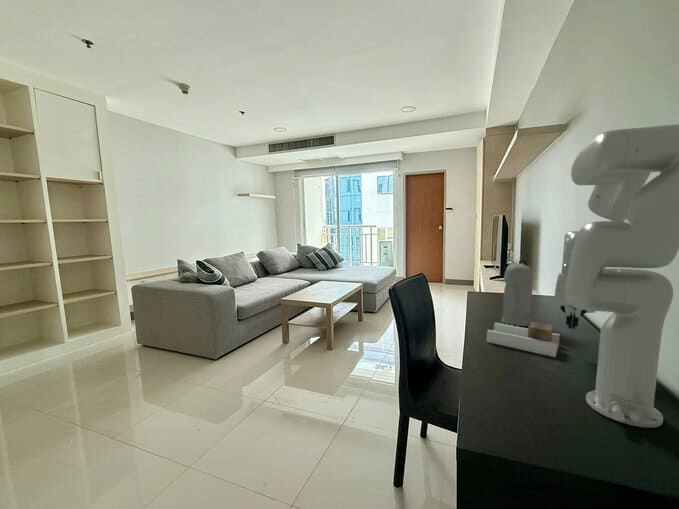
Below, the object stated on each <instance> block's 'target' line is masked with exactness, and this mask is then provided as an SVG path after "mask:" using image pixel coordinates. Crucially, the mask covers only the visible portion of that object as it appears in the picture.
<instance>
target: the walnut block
mask: <svg viewBox="0 0 679 509" xmlns="http://www.w3.org/2000/svg"><path fill="white" fill-rule="evenodd" d="M527 327H528V338H532V339H537V340H542V341H547V342H551V339H552V333H553V324H546V323H542V322H536V321H531V324H530V325H528V326H527Z"/></svg>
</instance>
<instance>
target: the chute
mask: <svg viewBox="0 0 679 509" xmlns="http://www.w3.org/2000/svg"><path fill="white" fill-rule="evenodd" d="M493 324H494V325H493V329H492V330H491V329H487V331H486V342H487V343H491V344H495V345H498V346H504V347H509V348H512V349H517V350H522V351H526V352H531V353H535V354H538V355H544V356H549V357H551V358H552V357H553V358H556V356H557V354H558V350H559V345H560V334H559V333H553V332H552V339H551V342H547V341H542V340H537V339H532V338H528V328H527V327H519V326H514V325H509V324H504V323H500V322H494V323H493Z"/></svg>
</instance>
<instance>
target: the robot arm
mask: <svg viewBox="0 0 679 509" xmlns="http://www.w3.org/2000/svg"><path fill="white" fill-rule="evenodd" d="M572 163H573V164H572V165H571V171H570V172H571V173H570V176H571V177H570V178H571V180H572V181H573V183H574V184H575V185H577V186H594V188H593V190H592V191H591V194H590V196H589V198H588V200H587V201H588V202H587V207H588V209H589V211H591V212H592V213H593V214H594V215H597V216H598V217H601V218H603V219H606V220H602V221H601V220H600V221H598V220H597V221H592V222H588V223H586V224H585V225H583V226H582V227H581V228H580V229H579V230H575V231H574V230H570V231H567V232H565V234H564V238H563V240H564V242H563V252H562V265H561V272H559V273H558V276H557V280H556V283H555V288H554V296H553V297H554V298H553V300H554V301H553V303H552V307H553V308H555V309H558V310H561V311H562V312H563V313H564V314H565V316H566V319H565V325H567V326H568V327H567V328H568V329H569V330H570V329H572V330H575V329H576V327H578V326H579V318H580V317H581V316H583V315H585V314H595V313H596V312H606V313H607V312H608V313H612V314H611V315H610V316H609V317H608V318H607V319H606V320H605V321H604V323H603V324H602V326H601V329H600V333H599V343H598V355H597V365H596V366H597V367H596V379H595V389H594V390H591V391H588V392H587V393H586V394H585V400H586V403H587V405H589V406H590V407H591V408H592V410H594V411H596V413H597V412H598V413H599V414H600V415H602V416H605V417H606V418H609V419H611V420H614V421H617V422H619V423H622V424H626V425H629V426H633V427H638V428H645V429H646V428H650V429H653V428H658V427H661V426H662V425H663V422H664V416H663V414H662V413H661V412H660V411H659V410H658V409H657V408H655V407H654V406H655V398H656V397H655V395H656V388H657V387H656V386H657V377H658V369H659V368H658V367H659V359H660V358H659V357H660V351H661V350H660V349H661V341H662V335H663V329H664V324H665V321H666V318H667V315H668V311H669V310H670V307H671V304H672V301H673V299H674V298H673V297H674V287H673V284H672V283H671V281H670V280H669V279H668V278H667V277H666V276H664V275H663V274H661V273H659V272H656V271H653V270H649V269H660V268H664V267H667V266H669V265H670V264H671V263H673V261H674V260H675V258H676V256H677V254H678V252H679V124H664V125H655V126H654V125H653V126H645V127H633V128H622V129H621V128H619V129H614V130H613V129H612V130H608V131H604V132H601V134H599V135H597V136H595V138H593V139H592V140H591V141H590V142H589V143H588V144H586V145H585V146H584V147H583V148H582V149H581V150H580V152H578V154H577V156H576V157H575V159H574V161H573V162H572ZM651 173H660V174H658V175H656V176H655V177H654V178H652V179H650V180H649V181H648V182H647V180H648V179H649V177H650V175H651ZM646 182H647V183H646ZM647 269H648V270H647ZM572 308H575V309H576V310H575V312H574V313H573V312H572V311H571V309H572Z"/></svg>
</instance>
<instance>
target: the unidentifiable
mask: <svg viewBox="0 0 679 509" xmlns="http://www.w3.org/2000/svg"><path fill="white" fill-rule="evenodd" d="M533 274H534V273H533V269H531V267H530V266H528V265H526V264H523V263H511V264H509V265H507V267H506V269H505V272H504V276H503V281H504V282H505V286H504V290H503V307H502V308H503V310H502V312H503V314H502V318H501V319H500V322H501V323H502V322H503V323H502V324H504V323H505V324H506V325H509V324H510V325H511V326H514V325H516V326H517V327H519V326H527V325H528V326H529V324H530V323H531V322H532V319H531V318H530V317H529V314H531V311H532V303H533V302H532V300H533V286H532V285H533V281H534V277H533ZM528 326H527V327H528Z"/></svg>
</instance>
